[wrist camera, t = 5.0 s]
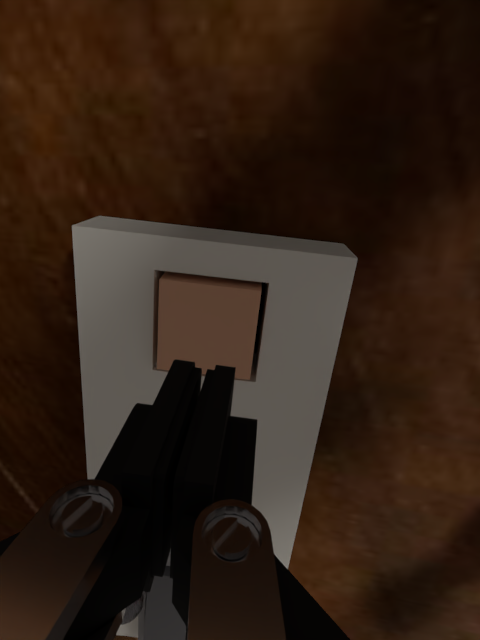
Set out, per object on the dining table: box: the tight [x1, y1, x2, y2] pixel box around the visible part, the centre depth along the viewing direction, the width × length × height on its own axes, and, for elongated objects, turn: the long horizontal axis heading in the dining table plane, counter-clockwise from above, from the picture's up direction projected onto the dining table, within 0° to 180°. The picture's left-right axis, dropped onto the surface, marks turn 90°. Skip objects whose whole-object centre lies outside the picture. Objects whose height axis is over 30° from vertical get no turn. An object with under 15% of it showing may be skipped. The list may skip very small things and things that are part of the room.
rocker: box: [143, 566, 186, 640], centre depth 24 cm, size 7×4×1 cm, turn 174°
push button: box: [157, 271, 262, 380], centre depth 19 cm, size 4×4×3 cm
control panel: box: [72, 216, 358, 640], centre depth 23 cm, size 28×12×4 cm, turn 174°
